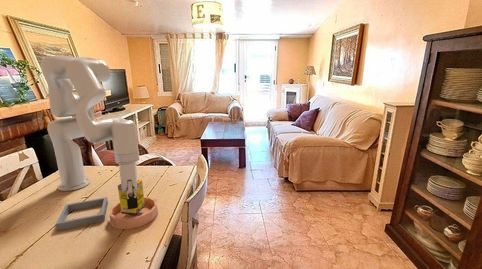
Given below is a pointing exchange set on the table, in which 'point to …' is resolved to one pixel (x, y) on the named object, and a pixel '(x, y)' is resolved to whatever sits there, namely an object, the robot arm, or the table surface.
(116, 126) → the robot arm
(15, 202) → the table surface
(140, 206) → the supplement box
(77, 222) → the open square frame
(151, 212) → the bowl
